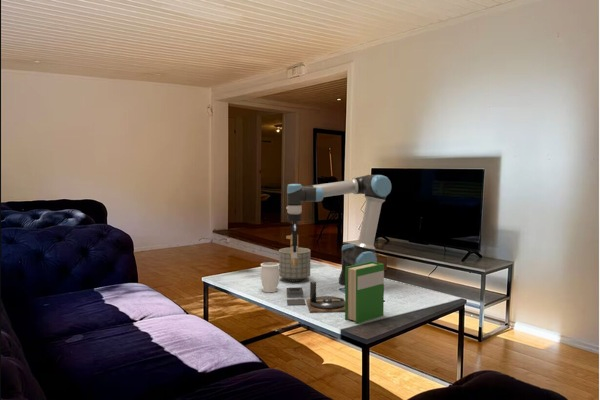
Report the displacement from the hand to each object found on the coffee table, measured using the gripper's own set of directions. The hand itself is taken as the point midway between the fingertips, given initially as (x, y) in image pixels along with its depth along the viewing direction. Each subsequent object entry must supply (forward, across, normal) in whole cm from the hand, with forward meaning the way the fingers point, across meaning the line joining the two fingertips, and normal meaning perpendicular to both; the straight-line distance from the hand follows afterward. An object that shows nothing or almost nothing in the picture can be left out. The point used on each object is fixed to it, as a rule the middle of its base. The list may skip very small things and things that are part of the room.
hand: (294, 257), depth 236 cm
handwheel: (+19, +19, +15) cm, 31 cm away
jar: (+21, -10, -13) cm, 27 cm away
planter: (+21, -34, +2) cm, 40 cm away
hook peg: (+4, 0, -1) cm, 4 cm away
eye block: (+21, -1, 0) cm, 21 cm away
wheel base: (+21, +19, +15) cm, 32 cm away
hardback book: (+21, +37, +30) cm, 52 cm away
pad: (+21, +12, 0) cm, 24 cm away
